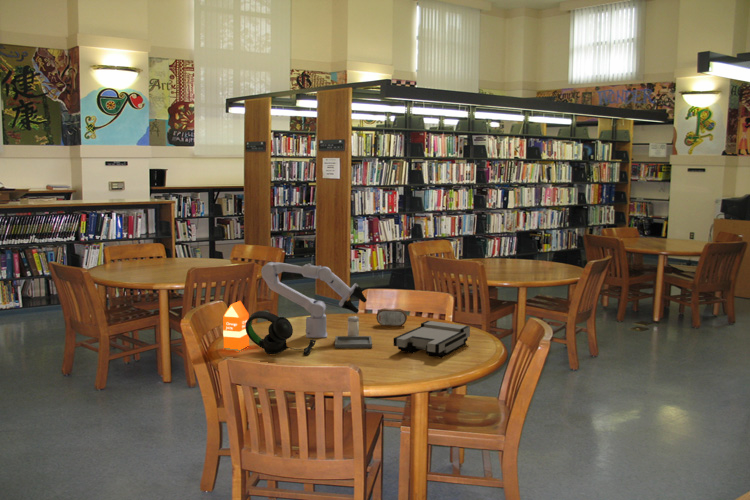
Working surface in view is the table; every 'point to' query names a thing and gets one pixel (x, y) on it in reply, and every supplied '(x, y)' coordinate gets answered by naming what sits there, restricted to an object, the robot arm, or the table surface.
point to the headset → (274, 333)
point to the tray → (353, 342)
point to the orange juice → (235, 327)
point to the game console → (433, 338)
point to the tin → (391, 317)
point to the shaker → (353, 326)
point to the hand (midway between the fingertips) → (361, 306)
